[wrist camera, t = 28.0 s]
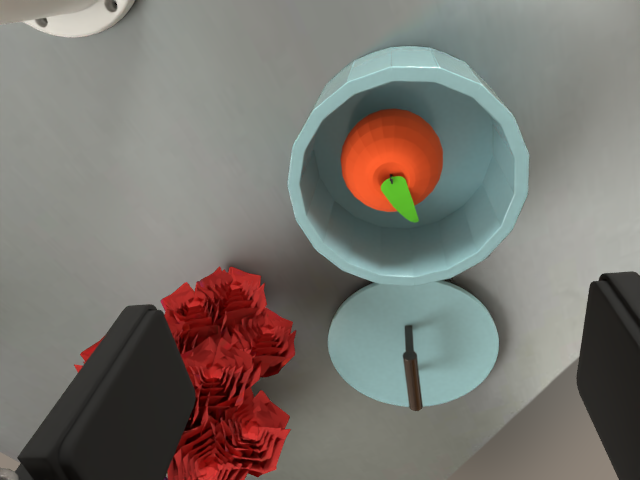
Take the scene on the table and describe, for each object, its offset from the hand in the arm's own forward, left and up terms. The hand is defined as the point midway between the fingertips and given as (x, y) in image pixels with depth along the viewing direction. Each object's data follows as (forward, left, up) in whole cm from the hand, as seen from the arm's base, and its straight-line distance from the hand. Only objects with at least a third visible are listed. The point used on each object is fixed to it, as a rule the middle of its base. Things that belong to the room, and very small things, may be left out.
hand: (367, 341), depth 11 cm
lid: (0, -24, -26) cm, 36 cm away
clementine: (0, -5, -27) cm, 27 cm away
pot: (+1, -5, -27) cm, 28 cm away
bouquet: (-20, -28, -27) cm, 44 cm away
